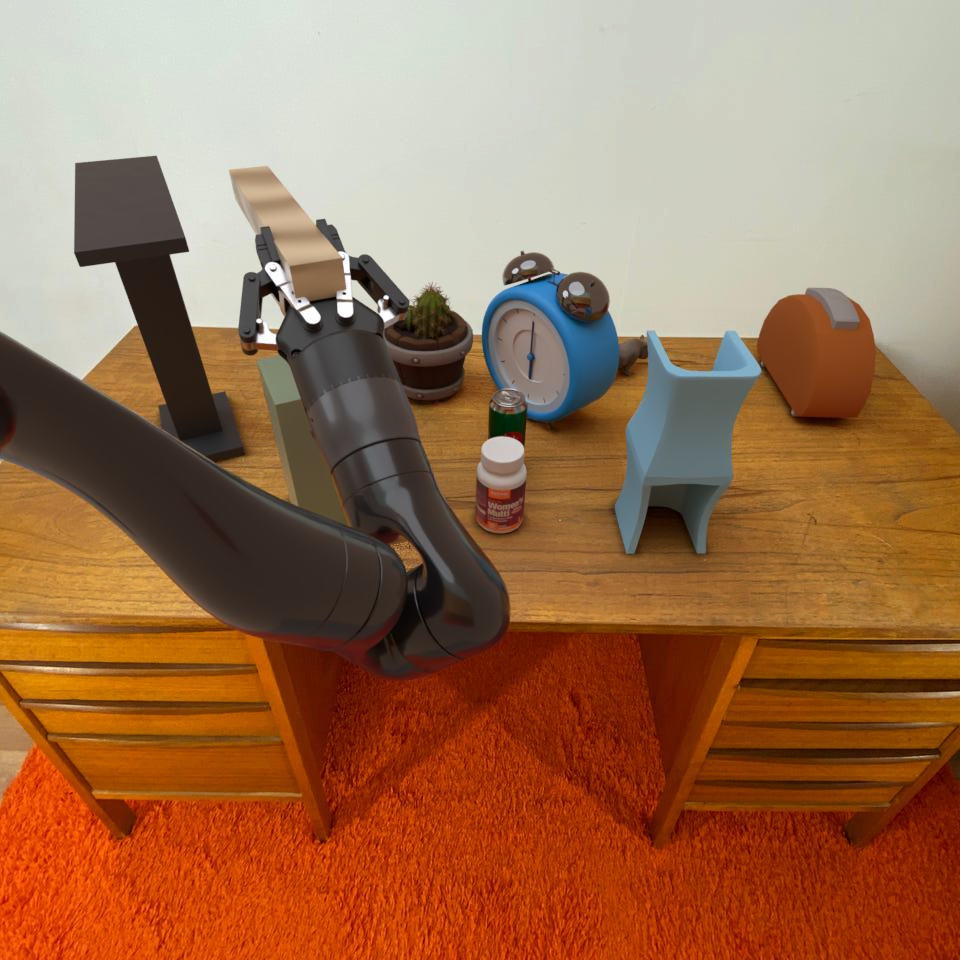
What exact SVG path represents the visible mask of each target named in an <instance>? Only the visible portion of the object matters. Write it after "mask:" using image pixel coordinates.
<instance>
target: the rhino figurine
mask: <svg viewBox="0 0 960 960" xmlns="http://www.w3.org/2000/svg"><path fill="white" fill-rule="evenodd" d="M644 339H645V335H644V334H641V336H639V338H637V337H636V338H630V339H627V340H626V341H622V342H620V343H619V365H618V370H622V374H623V375H625V376H627V377H630V376H631V375H632V372H631V371H630V368H631V367H633V365H634V364H635V363H636V362H637V361H638V359H639V360H648V345H647V341H645V340H644Z"/></svg>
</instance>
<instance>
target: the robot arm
mask: <svg viewBox="0 0 960 960" xmlns="http://www.w3.org/2000/svg"><path fill="white" fill-rule="evenodd" d="M315 225H316V227H317V228H318V229H319V230H320V232H321V233H322V234H323V235H324V236H325V237H326V238H327V239H328V241H329V242H330V243H331V244H332V246H333V247H334V248H335V249H336V251H337V252H338V253H339V254H340V255H341V257H342V258H343V266H344V274H345V282H346V290H341V291H336V297H332V298H326V299H321V300H315V301H308V299H307V298H306V297H302V298H295V296H294V294H293V290H292V287H291V285H290V282H288V280H287V277H286V274H285V272H284V270H283V269H282V267H281V261H280V258H279V255H278V252H277V249H276V246H275V243H274V238H273V235H272V232H271V229H270V227H269V226H266V227H260V231H261V234H258V235H256V234H255V236H254V237H255V238H254V243H255V252H256V254H257V258H258V261H259V263H260V266H261V269H260V271H258V272H255V271H249V272H246V273H245V274H244V275H243V277H242V278H243V280H242V288H241V298H240V307H239V308H240V309H239V316H238V317H239V318H238V326H237V327H238V329H237V333H238V335H239V336H238V338H239V342H240V347H241V351H242V353H243V354H244V355H246V356H255V355H256V354H257V353H258V352H259V350H260V351H271V352H272V351H273V352H277V353H278V355H280V356H281V357H282V358H283V359H284V360H285V361H286V362H287V363H288V364H289V366H290V368H291V371H292V374H293V377H294V380H295V383H296V386H297V389H298V392H299V395H300V398H301V401H302V403H303V406H304V409H305V412H306V415H307V418H308V421H309V424H310V427H309V428H310V432H311V434H312V437H313V438H314V440H315V442H316V445H317V447H318V450H319V452H320V454H321V456H322V458H323V460H324V462H325V464H326V466H327V468H328V470H329V472H330V475H331V478H332V481H333V483H334V486H335V489H336V492H337V495H338V498H339V501H340V504H341V507H342V509H343V512H344V515H345V518H346V521H347V524H348V526H347V525H344V524H342V523H339V522H337V521H334V520H332V519H329V518H327V517H324V516H322V515H319V514H316V513H314V512H311V511H309V510H306V509H303V508H301V507H298V506H296V505H294V504H292V503H291V502H289V501H287V500H285V499H282V498H280V497H278V496H276V495H274V494H273V493H270V492H269V491H266V490H264V489H262V488H261V487H259V486H257V485H254V484H253V483H251V482H249V481H247V480H245V479H244V478H242V477H240V476H238V475H236V474H235V473H233V472H231V471H229V470H228V469H227V468H225V467H223V466H222V465H220V464H218V463H217V462H213V461H212V460H210V459H209V458H207V457H205V456H204V455H202V454H201V453H199V452H198V451H196V450H194V449H193V448H191V447H190V446H188V445H187V444H185V443H183V442H182V441H180V440H179V439H177V438H176V437H174V436H172V435H171V434H169V433H168V432H166V431H164V430H163V429H162V427H160V426H158V425H156V424H155V423H153V422H152V421H151V420H149V419H146V418H145V417H144V416H142V415H141V414H139V413H137V412H135V411H134V410H132V409H131V408H129V407H127V406H125V405H124V404H123V403H121V402H119V401H117V400H116V399H114V398H112V397H111V396H109V395H108V394H106V393H104V392H103V391H101V390H99V389H97V388H96V387H94V386H92V385H91V384H89V383H87V382H86V381H84V380H83V379H81V378H80V377H78V376H76V375H75V374H72V373H71V372H69V371H67V370H66V369H65V368H63V367H61V366H60V365H58V364H56V363H55V362H53V361H51V360H49V359H47V358H46V357H44V356H42V355H41V354H40V353H38V352H36V351H34V350H33V349H31V348H30V347H28V346H26V345H24V344H23V343H21V342H19V341H18V340H16V339H15V338H13V337H11V336H9V335H8V334H6V333H4V332H3V331H1V330H0V460H3V461H6V462H8V463H11V464H13V465H16V466H19V467H21V468H24V469H26V470H29V471H31V472H33V473H35V474H37V475H40V476H41V477H43V478H46V479H48V480H50V481H52V482H54V483H56V485H57V484H58V485H59V486H61V487H63V488H64V489H66V490H67V491H69V492H71V493H73V494H74V495H76V496H78V498H81V500H83V501H84V502H86V503H88V504H89V505H90V506H92V507H93V508H94V509H96V510H97V511H98V512H99V513H100V514H102V516H104V517H105V518H107V519H108V520H109V521H110V522H112V524H114V525H115V526H116V527H118V529H120V530H121V531H122V532H123V533H124V534H125V535H126V536H127V537H128V538H130V540H131V541H132V542H133V543H134V544H135V545H137V546H138V547H139V548H140V549H141V550H142V551H143V552H144V553H145V554H146V555H147V556H148V557H149V558H150V559H151V560H152V561H153V563H154V564H156V566H157V567H158V568H159V569H160V570H161V571H162V572H163V573H164V574H165V575H166V576H167V577H168V579H169V580H171V581H172V582H173V583H174V584H175V585H176V586H177V588H178V589H180V590H181V591H182V592H183V593H184V594H185V595H186V596H187V597H188V598H189V599H190V600H191V601H192V602H194V603H195V605H197V606H198V607H199V608H201V609H202V610H203V611H204V612H206V614H209V615H210V616H211V617H213V618H214V619H216V620H217V621H219V622H220V623H222V624H223V625H225V626H226V627H228V628H231V629H232V630H234V631H237V632H240V633H242V634H245V635H248V636H250V637H254V638H257V639H261V640H264V641H268V642H269V641H270V642H273V643H274V642H275V643H281V644H286V645H292V646H298V647H303V648H309V649H314V650H320V651H329V652H334V653H335V654H337V655H338V656H339V657H341V658H342V659H344V660H345V661H347V662H349V663H350V664H352V665H355V666H356V667H358V668H359V669H361V670H363V671H364V672H367V673H368V674H370V675H372V676H374V677H376V678H378V679H382V680H384V681H392V682H407V681H413V680H418V679H422V678H425V677H427V676H429V675H432V674H435V673H436V672H438V671H439V672H440V671H441V670H444V669H446V668H448V667H450V666H452V665H454V664H457V663H460V662H462V661H464V660H466V659H469V658H471V657H473V656H476V655H478V654H481V653H484V652H485V651H488V650H489V649H492V648H493V647H495V646H497V645H498V644H499V643H500V642H501V641H502V640H503V639H504V637H505V636H506V633H507V632H508V630H509V625H510V621H511V611H512V610H511V609H512V608H511V600H510V595H509V591H508V588H507V585H506V583H505V580H504V579H503V577H502V575H501V574H500V572H499V571H498V569H497V567H496V566H495V565H494V563H493V562H492V560H491V559H490V558H489V557H488V555H487V554H486V553H485V552H484V550H483V549H482V548H481V546H480V545H479V544H478V543H477V542H476V540H475V539H474V537H472V535H471V534H470V532H469V531H468V530H467V529H466V527H465V526H464V524H463V523H462V521H461V520H460V519H459V517H458V515H457V514H456V512H455V511H454V509H453V508H452V506H451V505H450V503H449V502H448V500H447V499H446V497H445V496H444V494H443V492H442V490H441V488H440V486H439V484H438V482H437V479H436V476H435V473H434V471H433V468H432V466H431V463H430V460H429V458H428V455H427V453H426V450H425V447H424V445H423V443H422V440H421V436H420V432H419V428H418V427H419V426H418V424H417V419H416V417H415V414H414V410H413V408H412V405H411V403H410V400H409V399H408V398H407V395H406V393H405V390H404V388H403V385H402V382H401V380H400V377H399V375H398V373H397V370H396V367H395V365H394V362H393V360H392V357H391V355H390V352H389V350H388V347H387V344H386V342H385V340H384V337H383V334H384V329H385V328H387V327H389V326H390V325H392V324H395V325H397V326H402V325H404V324H405V323H406V319H407V314H408V309H409V305H410V303H411V302H410V300H409V299H410V298H408V297H407V296H406V295H405V294H404V293H403V292H402V290H401V289H400V288H399V287H398V286H397V285H396V284H395V282H394V281H393V280H392V279H391V277H390V276H389V275H388V274H387V273H386V272H385V271H384V270H383V268H382V267H381V266H380V265H379V263H377V262H376V260H375V259H374V258H373V257H372V256H371V255H369V254H360V255H359V256H358V257H356V256H351V255H349V254H348V253H347V252H346V250H345V247H344V245H343V242H342V239H341V237H340V235H339V232H338V229H337V227H335V225H333V224H332V223H331V224H328V223H327V219H326V218H320V219H319V218H318V219H316V220H315ZM352 281H355V282H357V283H358V284H359V285H360V287H361V288H362V289H363V290H364V291H365V292H366V294H367V295H368V296H369V297H370V298H371V299H372V301H373V302H374V303H375V304H376V305H377V307H376V309H377V311H375V310H373V309H372V308H370V307H369V306H367V305H366V304H364V303H363V302H362V301H360V300H358V299H357V298H356V297H354V296H353V286H352ZM269 295H271V297H272V298H273V299H274V301H275V302H276V304H277V305H278V307H279V309H280V311H281V313H282V315H283V319H282V322H281V324H280V326H279V328H278V330H277V332H276V333H273V332H272V331H271V330H270V328H269V324H268V322H266V321H265V320H263V319H262V314H263V313H262V312H263V301H264V298H265V297H267V296H269ZM405 542H408V543H409V544H410V545H411V546H412V547H413V548H414V549H415V551H416V552H417V554H418V555H419V557H420V558H421V562H422V563H420V564H418V565H415V566H414V567H413V568H411V569H409V570H407V569H406V566H405V564H404V561H403V559H402V558H401V557H400V555H399V553H398V552H397V551H396V550H395V549H394V548H393V547H392V546H394V545H397V544H402V543H405Z"/></svg>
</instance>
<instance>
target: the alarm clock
mask: <svg viewBox="0 0 960 960" xmlns="http://www.w3.org/2000/svg"><path fill="white" fill-rule="evenodd" d="M519 252H520V255H517V256H516V257H513V258H512V259H510V260H509V262H507V264H506V265H505V267H504V268H503V272H502V277H501V279H502V285H503V286H508V285H513V284H515V283H516V284H517V283H519V282H521V283H519V284H517V285H513V286H511V287H508V288H505V289H503V290H502V291H500V292H499V293H498V294H496V295H495V296H494V297H493V298H492V299H491V300H490V302H489V304H488V306H487V308H486V310H485V312H484V315H483V319H482V324H481V325H482V326H481V347H482V353H483V357H484V358H483V359H484V362H485V364H486V368H487V371H488V374H489V375H490V378H491V380H492V383H493V384H494V385H495V387H496V388H497V391H498V390H500V389H515V390H518V391H520V392H522V393H523V394H524V395H525V400H526V401H527V404H528V408H527V419H529V420H532V421H535V422H539V423H547V426H548V427H549V429H550V431H553V430H555V426H554V423H555V422H558V421H560V420H562V419H564V418H567V417H569V416H570V415H572V414H574V413H575V412H578V411H579V410H581V409H583V408H585V407H587V406H589V405H591V404H592V403H594V402H597V401H598V400H600V399H601V398H602V397H603V396H605V394H607V393H608V391H609V390H610V389H611V387H612V386H613V384H614V381H615V379H616V376H617V374H618V370H619V368H618V365H619V344H620V342H619V337H618V332H617V328H616V325H615V322H614V320H613V317H612V316H611V313H610V310H609V309H610V303H611V299H610V297H611V296H610V293H609V290H608V288H607V286H606V284H605V283H604V282H603V281H602V279H600V278H599V277H598V276H596V275H594V274H592V273H590V272H587V271H574V272H570V273H568V274H567V273H561V271H559V270H557V269H555V266H554V263H553V261H552V259H551V258H549V256H547V255H545V254H544V253H541V252H535V251H532V252H531V251H530V252H526V253H525V251H524V250H521V251H519ZM546 273H547V274H546ZM544 274H545V275H544ZM535 277H536V278H535ZM532 278H533V279H532ZM526 280H527V281H526ZM522 281H525V282H522Z"/></svg>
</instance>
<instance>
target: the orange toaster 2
mask: <svg viewBox="0 0 960 960" xmlns="http://www.w3.org/2000/svg"><path fill="white" fill-rule="evenodd" d="M872 327H873V326H872V323H871V319H870V318H869V316H868V315H867V313H866V312H865V310H864V308H862V306H861V304H859V303H858V302H856V301H855V300H853V299H852V298H850V297H849V296H848V295H846V294H845V293H844V292H842V290H839V289H836V288H831V287H807V288H806V290H805V292H804V294H802V293H801V294H790V295H787V296H785V297H783V298H780V299H779V300H777V302H776V303H775V304H774V305H773V306H772V307H771V308H770V310H769V312H768V313H767V315H766V317H765V319H764V320H763V323H762V325H761V328H760V331H759V334H758V338H757V343H756V352H757V355H758V357H759V359H760V361H761V362H760V365H761V366H760V367H762V368H766V370H767V372H768V373H769V374H770V377H771V378H772V379H773V381H774V383H775V385H776V386H777V387H778V389H779V391H780V392H781V394H782V395H783V397H784V399H785V400H786V402H787V403H788V405H789V406H790V408H791V411H790V414H791V416H792V417H793V418H794V417H795V418H798V417H799V418H830V419H831V418H832V419H833V418H836V419H838V418H839V419H850V418H858V416H859V415H860V413H861V412H862V410H863V408H864V407H865V405H866V403H867V400H868V398H869V396H870V394H871V390H872V386H873V380H874V375H875V370H876V369H875V368H876V356H877V355H876V354H877V353H876V352H877V351H876V343H875V334H874V331H873V328H872Z"/></svg>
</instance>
